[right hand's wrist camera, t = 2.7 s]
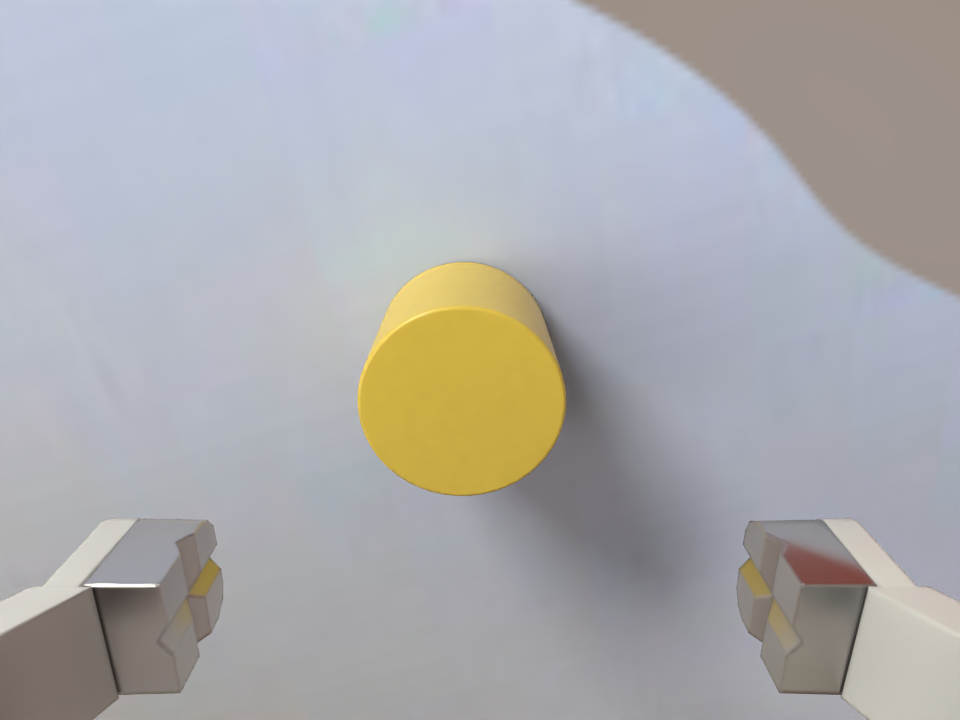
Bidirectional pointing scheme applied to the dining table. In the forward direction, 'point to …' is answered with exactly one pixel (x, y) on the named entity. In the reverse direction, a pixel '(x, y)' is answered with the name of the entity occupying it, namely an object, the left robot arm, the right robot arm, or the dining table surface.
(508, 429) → the tin
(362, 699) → the dining table surface
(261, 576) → the dining table surface
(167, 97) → the dining table surface
